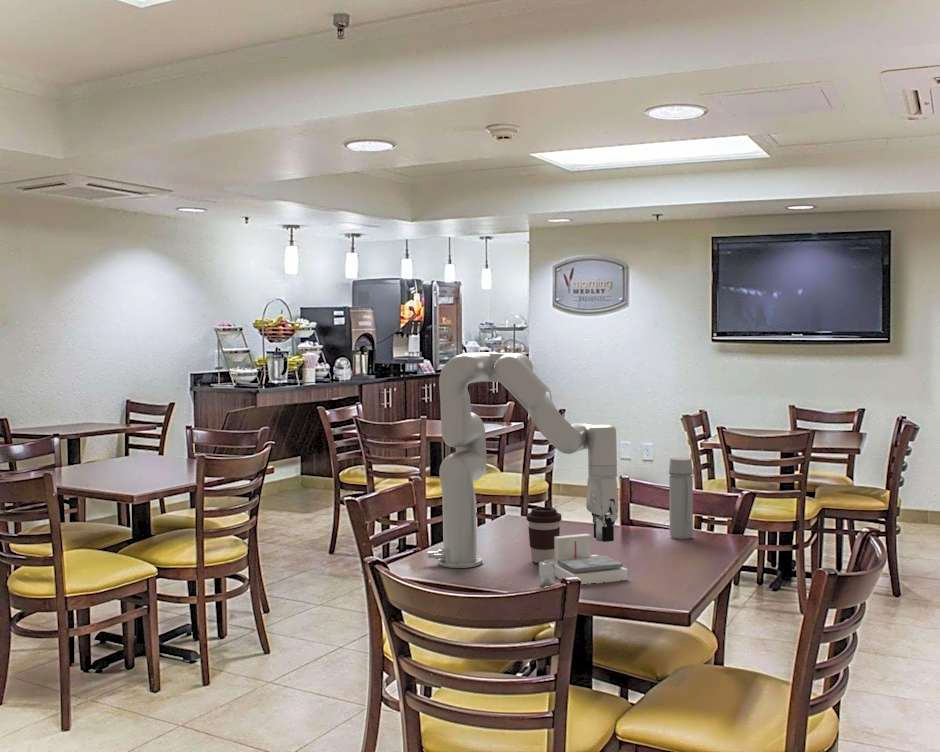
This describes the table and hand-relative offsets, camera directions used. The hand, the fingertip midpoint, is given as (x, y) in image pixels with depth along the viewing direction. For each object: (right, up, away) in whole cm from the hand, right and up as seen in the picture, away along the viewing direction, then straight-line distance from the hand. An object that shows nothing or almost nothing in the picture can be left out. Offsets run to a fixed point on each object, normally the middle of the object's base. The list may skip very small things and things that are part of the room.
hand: (603, 538), depth 243 cm
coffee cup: (-14, -10, +17) cm, 24 cm away
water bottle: (+31, -8, +44) cm, 54 cm away
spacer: (-16, -11, -9) cm, 21 cm away
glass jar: (0, 0, 0) cm, 0 cm away
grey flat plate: (-4, -7, -1) cm, 8 cm away
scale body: (-5, -10, +2) cm, 11 cm away
